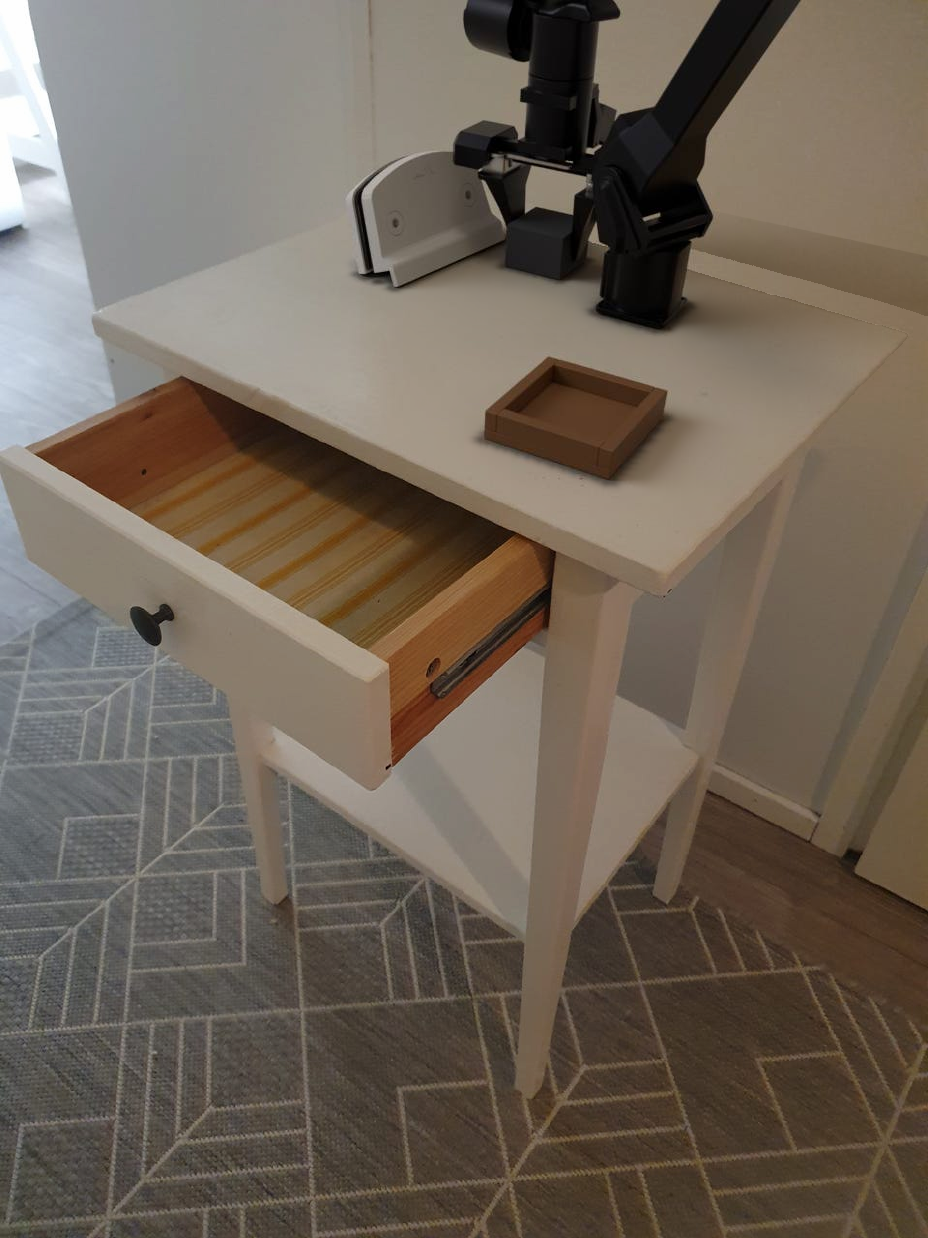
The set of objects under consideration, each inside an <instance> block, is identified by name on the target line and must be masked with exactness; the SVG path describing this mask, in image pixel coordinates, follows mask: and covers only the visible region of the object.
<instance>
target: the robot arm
mask: <svg viewBox="0 0 928 1238" xmlns="http://www.w3.org/2000/svg"><path fill="white" fill-rule="evenodd" d="M801 1H802V0H719V1H718V2H717V4H716V5H715V7H714V9H713V10H712V12H711V13H710V15H709V17H708V19H707V20H706V21H705V24H704V25H703V27H702V29H701V30H700V32H699V33H698V35H697V36H696V38H695V40H694V41H693V43H692V45H691V46H690V48H689V49H688V51H687V53H686V55H685V56H684V58H683V59H682V61H681V62H680V64H679V66H678V67H677V69H676V71H675V72H674V74H673V75H672V77H671V78H670V80H669V82H668V84H667V85H666V87H665V89H664V90H663V91H662V94H661V95H660V97H659V98H658V100H657V102H656V103H655V104H654V106H651V107H647V108H641V109H637V110H632V111H628V112H627V111H626V112H623V113H619V115H618V116H617V111H618V110H617V109H616V108H613V107H612V106H610V105H607V104H605V103H602V102H600V100H599V99H600V89H599V88H600V87H599V85H600V84H599V83H597V82H594V80H595V70H596V60H597V52H598V51H597V50H598V42H599V41H598V39H599V31H600V22H601V23H602V22H607V21H613V20H619V18H620V17H621V13H622V12H621V9H620V8H619V6H618V4H617V3H616V1H615V0H467V2H466V6H465V8H464V10H463V15H462V23H463V29H464V33H465V37H466V39H467V40H468V43H470V44H471V46H472V47H474V48H475V49H477V50H480V51H482V52H485V53H489V54H492V55H496V56H499V57H502V58H506V59H509V60H511V61H515V62H517V63H528V70H527V71H528V72H527V85H526V86H524V87H522V88H520V90H519V91H520V93H519V102H520V103H524V104H526V105H525V120H524V121H525V122H524V136H523V137H521V138H519V132H518V130H517V129H516V127H515V125H512V124H508V123H507V124H506V123H502V122H501V123H500V122H495V121H491V120H487V119H485V120H484V119H483V120H480V121H479V122H476V123H475V124H472V125H470V126H467V127H466V128H463V129H462V130H460V131H459V132H458V133H457V134H456V135H455V138H454V141H453V143H452V152H453V163H454V165H458V166H462V167H467V168H472V169H476V170H479V172H478V179H480V180H482V181H483V182H485V184H486V186H487V188H488V190H489V192H490V194H491V196H492V197H493V200H494V202H495V203H496V206H497V207H498V209H499V212H500V215H501V216H502V219H503V222H504V224H505V227H506V228H507V224H509V223H511V222H512V221H514V220H515V219H517V218H519V217H520V216H522V215H523V214H525V213H526V197H527V196H526V195H527V193H526V192H527V189H526V188H527V182H528V179H529V175H530V171H531V169H532V167H536V168H542V169H546V170H551V171H555V172H559V173H560V172H561V173H566V174H570V175H574V176H580V177H585V178H586V179H585V182H586V186H585V188H583V189H582V190H580V191H578V192H576V193H575V194H574V197H573V207H572V208H573V210H572V215H573V223H572V237H571V254H572V261H577V260H578V259H579V258H580V256H581V254H582V252H583V250H584V248H585V245H586V243H587V241H588V242H589V239H590V237H591V234H592V232H593V231H594V228H595V225H596V230H597V238H598V242H599V243H600V244H602V245H605V246H607V247H608V248H609V249H608V250H607V251H605V252H604V254H603V261H602V267H601V268H602V270H601V276H600V277H601V278H600V286H599V297H600V299H601V300H600V301H599V302H597V304H596V305H595V312H597V313H600V314H604V315H608V316H612V317H615V318H618V319H623V320H627V321H629V322H635V323H638V324H641V325H646V326H648V327H653V328H657V329H662V328H664V327H665V326H666V325H667V324H669V322H670V321H671V320H672V319H673V318H674V317H675V316H676V315H677V314H678V313H679V312H680V311H681V310H682V309H683V308H684V307H685V306H686V305H687V304H688V297H686V296H683V293H684V287H685V282H686V276H687V271H688V264H689V259H690V254H691V248H692V240H694V239H700V238H703V237H705V235H706V233H707V232H708V230H709V227H710V225H712V222H713V219H714V215H713V212H712V210H711V208H710V206H709V203H708V200H707V198H706V196H705V194H704V192H703V190H702V187H701V185H700V184H699V181H698V178H699V176H700V174H701V173H702V170H703V169H704V166H705V163H706V152H707V151H706V150H707V141H708V136H709V135H710V133H711V131H712V129H713V128H714V127H715V125H716V124H717V123H718V121H719V120H720V118H721V116H722V115H723V113H724V112H725V111H726V109H727V108H728V107H729V106H730V103H732V101H733V99H734V98H735V96H736V95H737V93H738V92H739V90H740V89H741V88H742V86H743V85H744V83H745V82H746V81H747V79H748V78H749V76H750V75H751V73H752V72H753V70H754V69H755V68H756V66H757V65H758V63H759V62H760V60H761V59H762V57H763V56H764V55H765V53H766V52H767V50H768V49H769V47H770V46H771V44H772V43H773V41H774V40H775V38H776V37H777V36H778V34H779V33H780V32H781V30H782V28H783V27H784V26H785V24H786V23H787V21H788V20H789V19H790V17H791V16H792V15H793V13H794V11H795V10H796V8H797V7H798V6H799V4H800V2H801ZM616 116H617V117H616ZM599 146H600V147H599ZM597 147H598V148H597ZM595 148H596V150H595V151H593V153H589V152H587V150H588V149H595ZM657 214H659V216H656V217H653V218H649V217H651V216H655V215H657ZM647 217H648V218H649V219H646V220H645V219H644V218H647Z"/></svg>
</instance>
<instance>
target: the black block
mask: <svg viewBox="0 0 928 1238" xmlns="http://www.w3.org/2000/svg"><path fill="white" fill-rule="evenodd" d="M572 223H573V214H571V213H566V212H562V211H559V210H558V211H557V210H554V209H549V208H544V207H540V206H535V207H533V208H531V209H529V210H528V211H527V212H525V214H523V215H522V216H520V217H519V218H517V219H515V220H514V221H512V222H511V223H509V224H507V227H506V231H505V232H506V235H505V254H504V267H507V268H510V269H515V270H519V271H522V272H526V273H530V274H533V275H534V274H535V275H539V276H543V277H546V278H550V279H553V280H559V281H560V280H562V279H563V278H564V277H565V276H567V275H568V274H569V273H571V272H572V271H574V270H575V269H576V268H577V267H579V266H580V265H582V264H583V263H584V262H585V261H586V260H587V258H588V247H589V240H588V241H587V243H586V245H585V248H584V250H583V252H582V254H581V256H580V258H579V259H578V260H577V261H572V254H571V237H572Z"/></svg>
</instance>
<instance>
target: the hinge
mask: <svg viewBox="0 0 928 1238" xmlns="http://www.w3.org/2000/svg"><path fill="white" fill-rule="evenodd" d="M479 171H480V169H479V170H476V169H472V168H467V167H462V166H458V165H454V163H453V151H450V150H449V151H448V150H428V151H421V152H418V153H413V154H408V155H405V156H401V157H398V158H396V159H393V160H391V161H389V162H387V163H386V164H384V165H382V166H380V167H379V168H377V169H376V170H374V171H372V172H371V173H370V174H368V175H366V176H365V177H364V178H363V179H362V180H360V181H359V182H358V183H357V184H356V185H355V186H353V188H352V190H351V191H349V193H348V194H347V195H346V199H345V204H346V205H345V207H346V210H347V216H348V222H349V227H350V228H349V229H350V232H351V237H352V238H351V239H352V243H353V248H354V254H355V260H356V265H357V266H356V267H357V270H358V274H359V275H366V274H369V273H371V272H374V274H376V273H382V272H388V271H389V273H390V277H391V281H392V285H393V288H397V287H398V288H399V287H400V286H402V285H405V284H407V283H409V282H412V281H414V280H417V279H418V278H420V277H423V276H425V275H427V274H430V273H432V272H435V271H437V270H439V269H441V268H443V267H446V266H448V265H450V264H453V263H455V262H457V261H459V260H461V259H464V258H466V257H468V256H471V255H473V254H475V253H478V252H480V251H482V250H484V249H486V248H489V247H491V246H493V245H496V244H498V243H500V242H503V241H504V240H505V241H506V235H505V232H504V227H503V223H502V221H501V219H500V218H498V217H497V216H496V215H495V214H494V213H493V212H492V210H491V206H490V203H489V200H488V197H487V194H486V193H487V192H486V190H485V187H484V184H483V180H480V179H478V172H479Z"/></svg>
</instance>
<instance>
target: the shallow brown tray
mask: <svg viewBox="0 0 928 1238" xmlns="http://www.w3.org/2000/svg"><path fill="white" fill-rule="evenodd" d="M668 391H669V390H666V389H663V388H661V387H658V386H657V387H655V386H654V385H650V384H647V383H643V382H639V381H636V380H633V379H629V378H627V377H626V378H625V377H622V376H619V375H615V374H611V373H609V372H605V371H601V370H598V369H594V368H591V367H587V366H584V365H581V364H578V363H577V364H576V363H573V362H570V361H567V360H563V359H559V358H555V357H553V356H547V357H545V359H543V360H542V361H541V362H540V363H538V365H536V366H535V367H534V368H532V370H531V371H530V372H528V373H527V374H526V375H524V377H522V378H521V379H520V380H519V381H518V382H517V383H516V384H514V385H513V386H512V387H511V388H510V389H509V390H508V391H506V392H505V393H504V394H503V395H502V396H501V397H500V398H498V399H497V400H496V401H494V403H492V404H491V405H490V406H489V407H488V408H487V409H485V412H484V430H483V438H484V439H485V440H488V441H491V442H494V443H497V444H501V445H504V446H506V447H510V448H513V449H516V450H519V451H522V452H525V453H528V454H531V455H534V456H536V457H539V458H543V459H545V460H549V461H552V462H554V463H558V464H561V465H564V466H567V467H570V468H573V469H576V470H578V471H582V472H585V473H588V474H590V475H593V476H597V477H600V478H603V479H605V480H610V479H611V478H612V476H613V475H614V474H615V473H616V472H617V471H618V469H619V468H620V467H621V466H622V465H623V464H624V463H625V462H626V460H627V459H628V458H629V457H630V456H631V455H632V453H634V451H635V450H636V449H637V448H638V447H639V445H641V443H642V442H643V441H644V440H645V438H646V437H647V436H649V434H650V433H651V432H652V431H653V429H654V428H655V427H656V426H657V425H658V424H659V422H660V421H661V420H662V419H663V418H664V414H665V408H666V404H667V397H668Z"/></svg>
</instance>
